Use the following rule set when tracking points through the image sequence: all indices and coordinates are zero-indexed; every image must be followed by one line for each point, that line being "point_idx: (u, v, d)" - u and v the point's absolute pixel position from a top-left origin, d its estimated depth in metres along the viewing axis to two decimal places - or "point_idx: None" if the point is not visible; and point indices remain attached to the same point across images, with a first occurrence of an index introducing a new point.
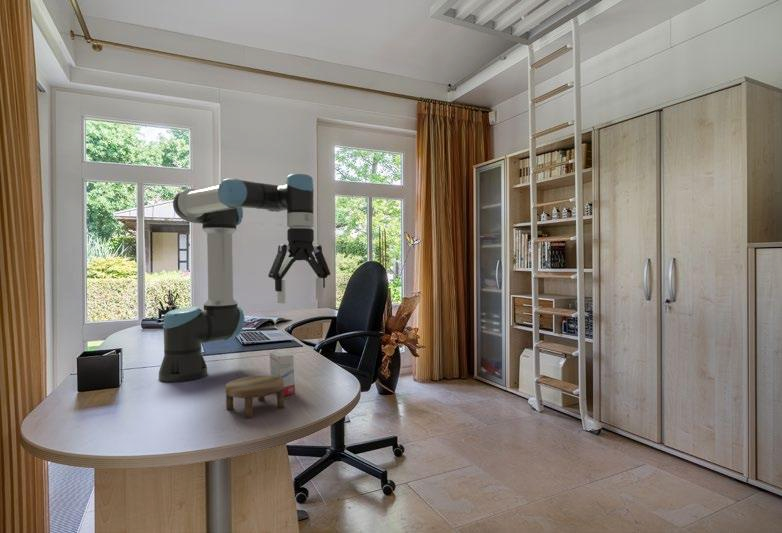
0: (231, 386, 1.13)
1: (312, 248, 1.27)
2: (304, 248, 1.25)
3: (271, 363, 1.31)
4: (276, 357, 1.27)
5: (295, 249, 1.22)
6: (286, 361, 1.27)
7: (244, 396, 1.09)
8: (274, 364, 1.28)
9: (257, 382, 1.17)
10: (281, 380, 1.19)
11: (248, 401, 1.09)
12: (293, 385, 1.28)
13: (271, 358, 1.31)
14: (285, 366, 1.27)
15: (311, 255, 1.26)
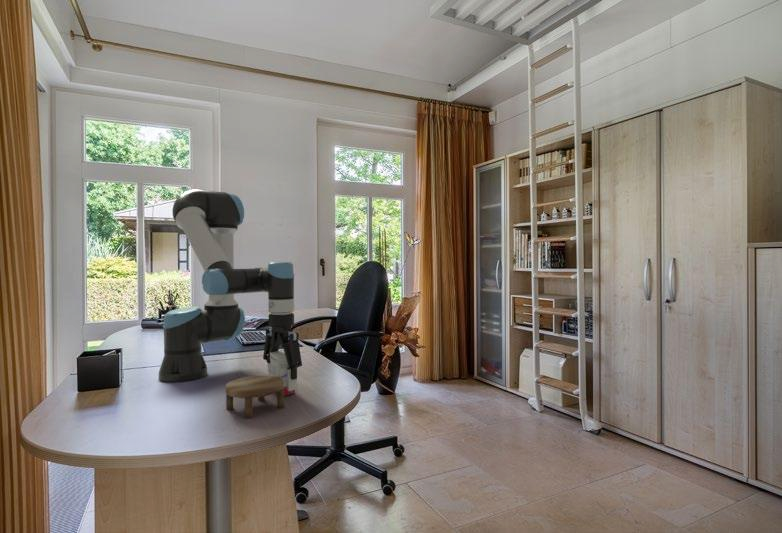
0: (231, 386, 1.13)
1: (285, 334, 1.27)
2: (279, 331, 1.29)
3: (271, 363, 1.31)
4: (276, 357, 1.27)
5: (273, 332, 1.31)
6: (286, 361, 1.27)
7: (244, 396, 1.09)
8: (274, 364, 1.28)
9: (257, 382, 1.17)
10: (281, 380, 1.19)
11: (248, 401, 1.09)
12: None
13: (271, 358, 1.31)
14: (285, 366, 1.27)
15: (281, 341, 1.27)
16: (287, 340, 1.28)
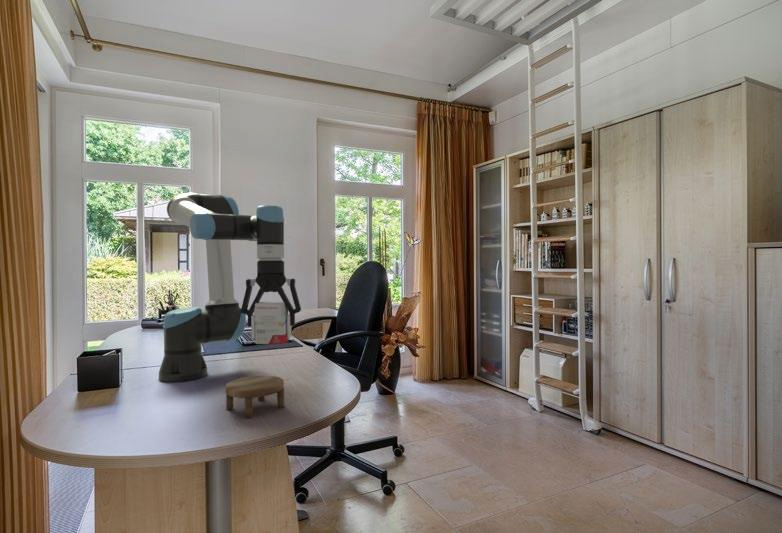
0: (231, 386, 1.13)
1: (282, 280, 1.23)
2: (272, 278, 1.23)
3: (260, 314, 1.22)
4: (275, 304, 1.21)
5: (261, 281, 1.23)
6: (285, 308, 1.23)
7: (244, 396, 1.09)
8: (270, 313, 1.22)
9: (257, 382, 1.17)
10: (281, 380, 1.19)
11: (248, 401, 1.09)
12: None
13: (260, 308, 1.22)
14: (285, 313, 1.23)
15: (278, 288, 1.23)
16: (281, 287, 1.24)
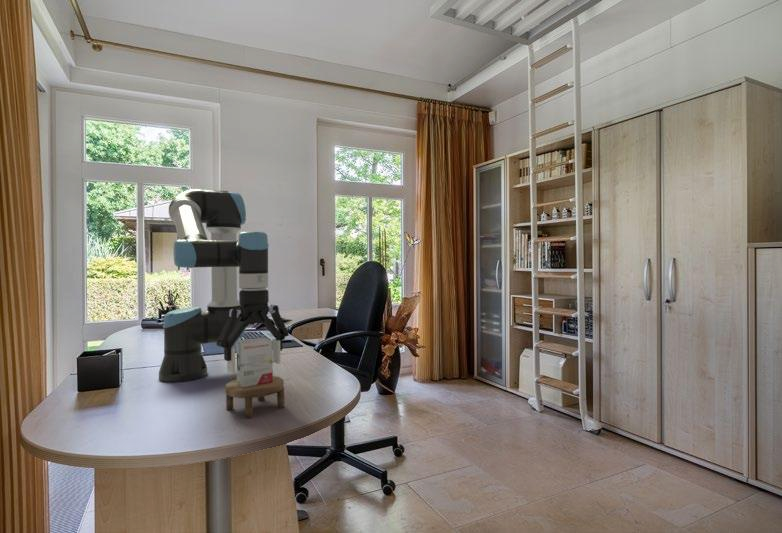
0: (231, 386, 1.13)
1: (267, 309, 1.18)
2: (258, 311, 1.16)
3: (247, 354, 1.13)
4: (266, 341, 1.15)
5: (247, 313, 1.13)
6: None
7: (244, 396, 1.09)
8: (260, 352, 1.15)
9: None
10: (281, 380, 1.19)
11: (248, 401, 1.09)
12: None
13: (248, 348, 1.13)
14: None
15: (266, 317, 1.17)
16: None
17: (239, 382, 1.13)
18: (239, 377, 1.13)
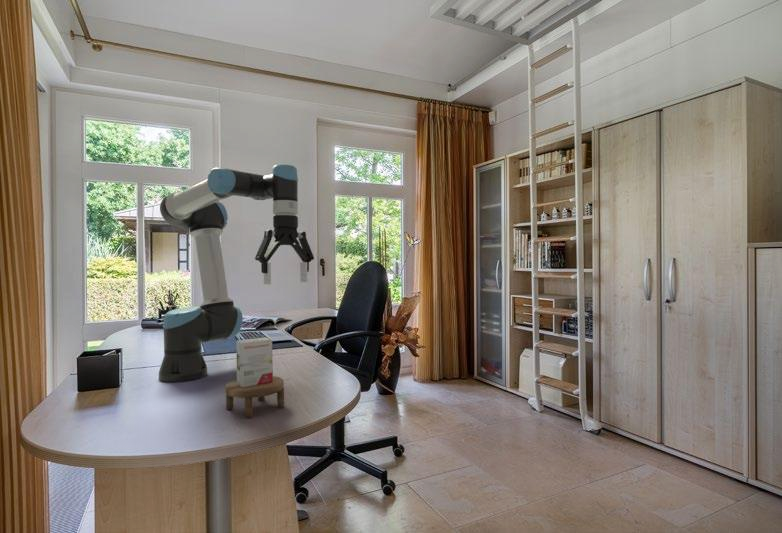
0: (231, 386, 1.13)
1: (296, 234, 1.36)
2: (289, 234, 1.34)
3: (248, 354, 1.13)
4: (266, 341, 1.15)
5: (280, 234, 1.32)
6: None
7: (244, 396, 1.09)
8: (260, 352, 1.15)
9: None
10: (281, 380, 1.19)
11: (248, 401, 1.09)
12: None
13: (248, 348, 1.13)
14: None
15: (295, 240, 1.35)
16: None
17: (239, 382, 1.13)
18: (239, 377, 1.13)
